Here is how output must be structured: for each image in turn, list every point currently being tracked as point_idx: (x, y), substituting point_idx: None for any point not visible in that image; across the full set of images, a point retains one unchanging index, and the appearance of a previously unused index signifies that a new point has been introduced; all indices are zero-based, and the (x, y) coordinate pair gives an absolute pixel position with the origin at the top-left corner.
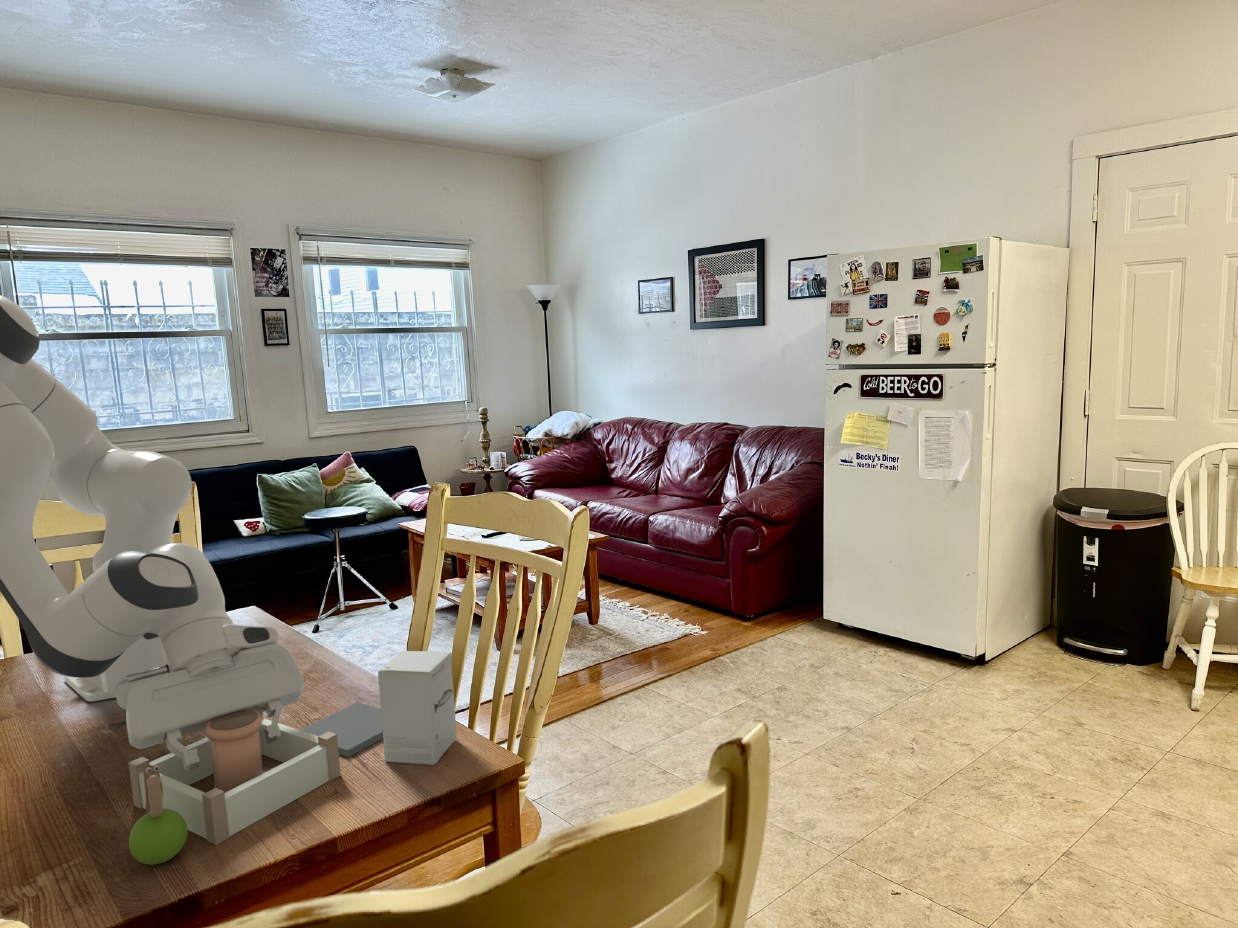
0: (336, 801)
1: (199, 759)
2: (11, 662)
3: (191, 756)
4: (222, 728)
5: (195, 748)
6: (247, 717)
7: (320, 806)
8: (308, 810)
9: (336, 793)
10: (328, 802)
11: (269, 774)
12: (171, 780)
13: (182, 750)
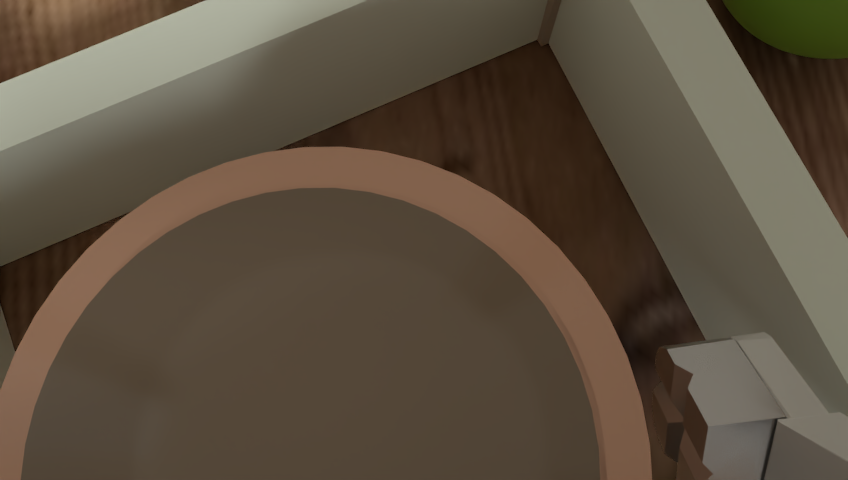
0: (39, 4)
1: (664, 351)
2: None
3: (737, 376)
4: (477, 247)
5: (714, 423)
6: (152, 398)
7: (112, 6)
8: (167, 5)
9: (10, 73)
10: (70, 18)
11: (248, 2)
12: (837, 328)
13: (839, 422)
